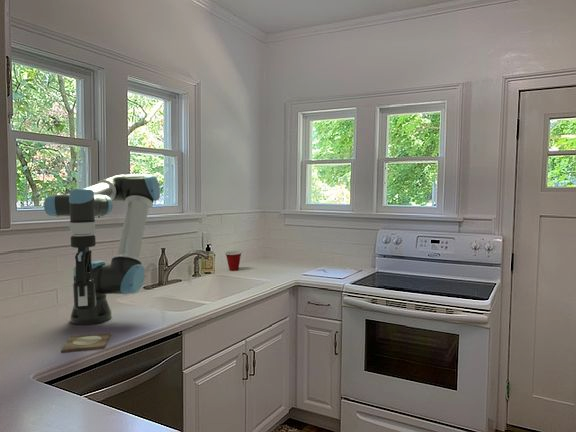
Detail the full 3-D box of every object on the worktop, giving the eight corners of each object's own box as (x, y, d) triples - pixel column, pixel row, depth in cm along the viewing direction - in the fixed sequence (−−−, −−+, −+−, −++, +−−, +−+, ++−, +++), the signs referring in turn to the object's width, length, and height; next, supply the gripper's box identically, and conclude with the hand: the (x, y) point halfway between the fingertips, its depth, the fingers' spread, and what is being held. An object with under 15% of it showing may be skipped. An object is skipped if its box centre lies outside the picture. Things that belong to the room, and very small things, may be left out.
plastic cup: (222, 271, 280) (221, 252, 279) (229, 268, 290) (229, 250, 290) (237, 272, 277) (237, 253, 276) (244, 269, 287) (244, 251, 286)
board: (71, 338, 154) (71, 335, 154) (110, 334, 157) (110, 332, 157) (61, 352, 140) (60, 349, 140) (104, 348, 143) (104, 345, 143)
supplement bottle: (99, 304, 151) (98, 270, 150) (91, 309, 144) (90, 273, 144) (79, 305, 151) (78, 270, 150) (70, 310, 144) (68, 274, 143)
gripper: (77, 233, 155) (79, 297, 156) (63, 238, 136) (65, 311, 137) (100, 232, 157) (102, 295, 158) (89, 237, 138) (91, 309, 139)
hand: (85, 302), depth 147 cm, fingers closed on supplement bottle, 7 cm apart
